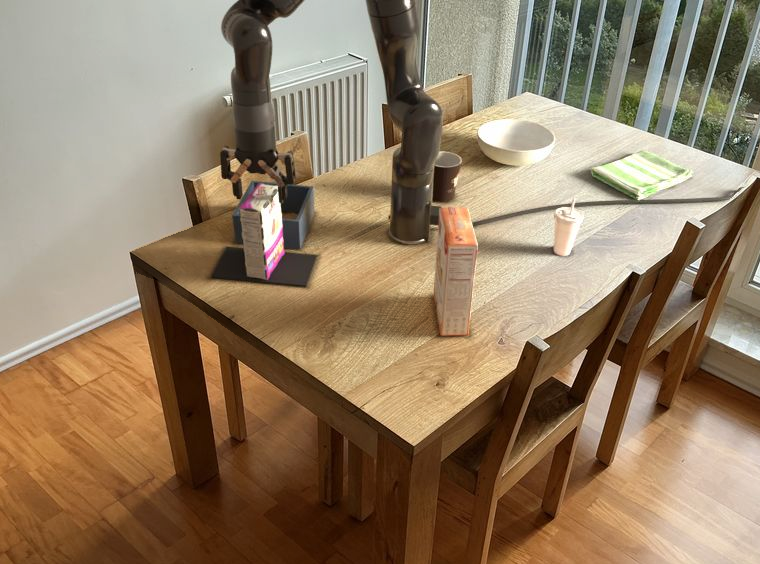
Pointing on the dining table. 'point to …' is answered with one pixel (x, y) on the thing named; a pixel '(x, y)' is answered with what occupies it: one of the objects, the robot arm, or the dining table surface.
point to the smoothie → (566, 228)
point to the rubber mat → (287, 272)
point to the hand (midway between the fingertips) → (260, 199)
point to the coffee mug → (446, 176)
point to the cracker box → (454, 270)
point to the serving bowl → (515, 141)
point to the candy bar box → (262, 231)
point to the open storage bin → (295, 202)
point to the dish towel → (641, 174)
